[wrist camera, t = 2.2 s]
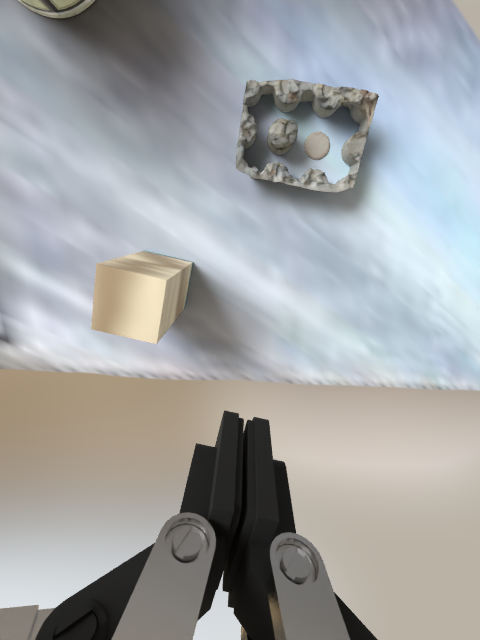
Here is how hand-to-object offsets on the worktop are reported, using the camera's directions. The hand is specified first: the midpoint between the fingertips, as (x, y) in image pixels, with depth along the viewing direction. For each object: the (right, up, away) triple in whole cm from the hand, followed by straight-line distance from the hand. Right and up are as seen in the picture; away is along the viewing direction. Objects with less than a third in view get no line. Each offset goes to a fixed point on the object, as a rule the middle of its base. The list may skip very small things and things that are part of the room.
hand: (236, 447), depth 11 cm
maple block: (-8, +9, +20) cm, 23 cm away
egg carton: (+5, +21, +17) cm, 27 cm away
